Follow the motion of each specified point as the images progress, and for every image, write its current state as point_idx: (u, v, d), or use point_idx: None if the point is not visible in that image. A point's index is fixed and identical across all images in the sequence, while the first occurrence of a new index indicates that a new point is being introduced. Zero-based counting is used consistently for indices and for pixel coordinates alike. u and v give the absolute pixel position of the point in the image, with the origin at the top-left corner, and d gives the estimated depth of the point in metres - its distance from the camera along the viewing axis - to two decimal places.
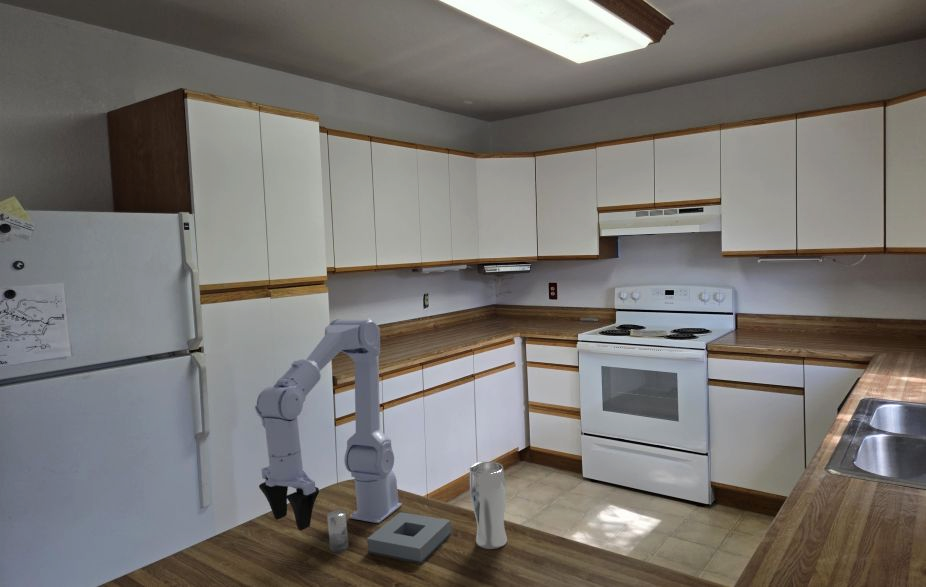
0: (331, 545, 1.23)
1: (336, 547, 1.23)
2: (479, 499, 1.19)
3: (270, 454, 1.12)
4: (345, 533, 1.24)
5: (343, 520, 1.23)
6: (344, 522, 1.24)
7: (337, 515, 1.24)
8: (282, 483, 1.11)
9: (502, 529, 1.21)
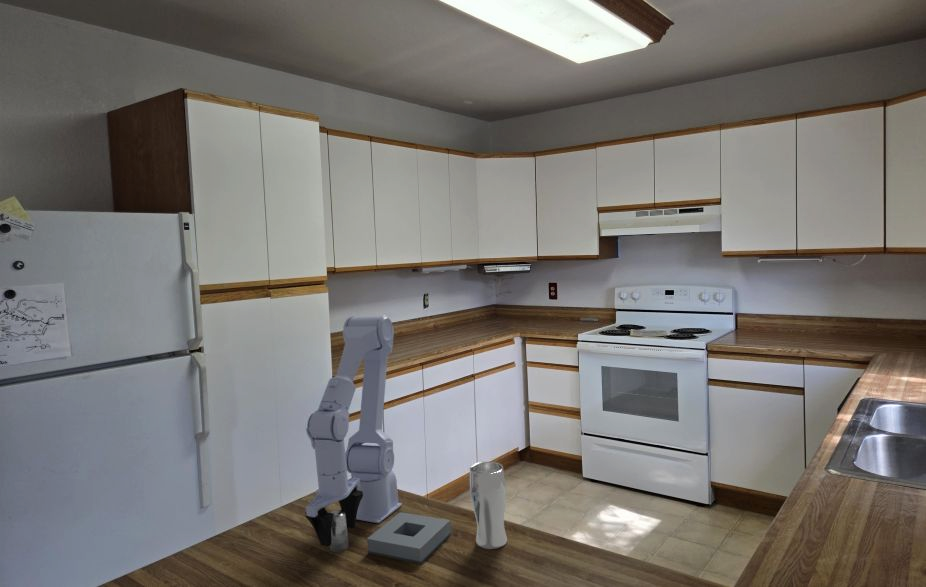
0: (331, 545, 1.23)
1: (336, 547, 1.23)
2: (479, 499, 1.19)
3: (320, 473, 1.21)
4: (345, 533, 1.24)
5: (343, 520, 1.23)
6: (344, 522, 1.24)
7: (336, 515, 1.24)
8: None
9: (502, 529, 1.21)
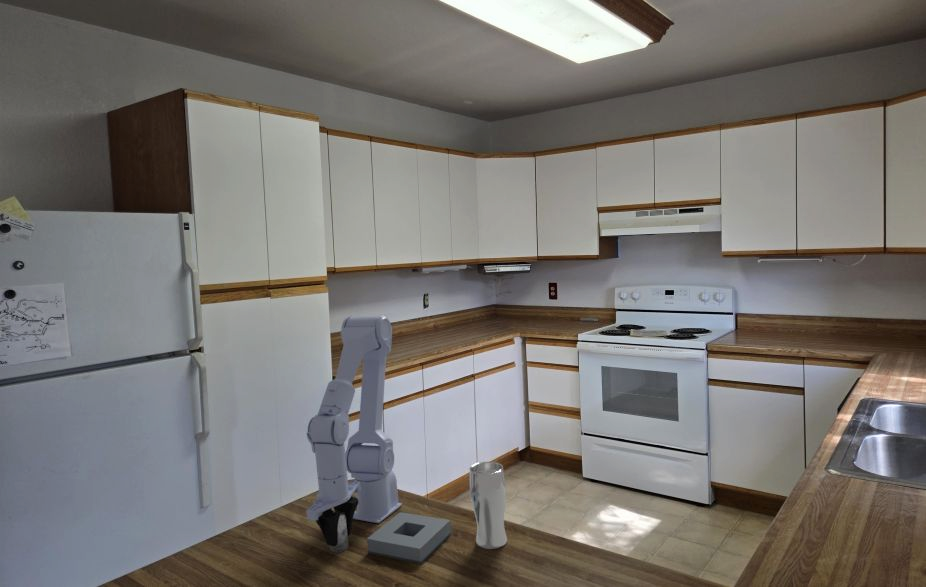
0: None
1: (336, 547, 1.23)
2: (479, 499, 1.19)
3: (321, 477, 1.21)
4: (345, 533, 1.24)
5: (343, 520, 1.23)
6: (344, 522, 1.24)
7: None
8: None
9: (502, 529, 1.21)
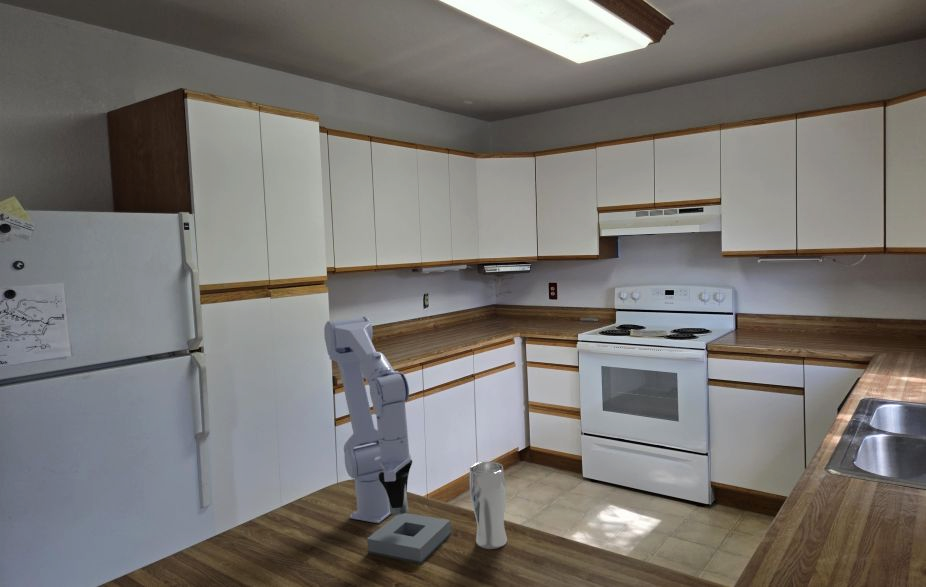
0: (395, 509, 1.22)
1: (401, 509, 1.22)
2: (479, 499, 1.19)
3: (394, 438, 1.19)
4: (406, 494, 1.23)
5: None
6: None
7: None
8: (380, 463, 1.20)
9: (502, 529, 1.21)
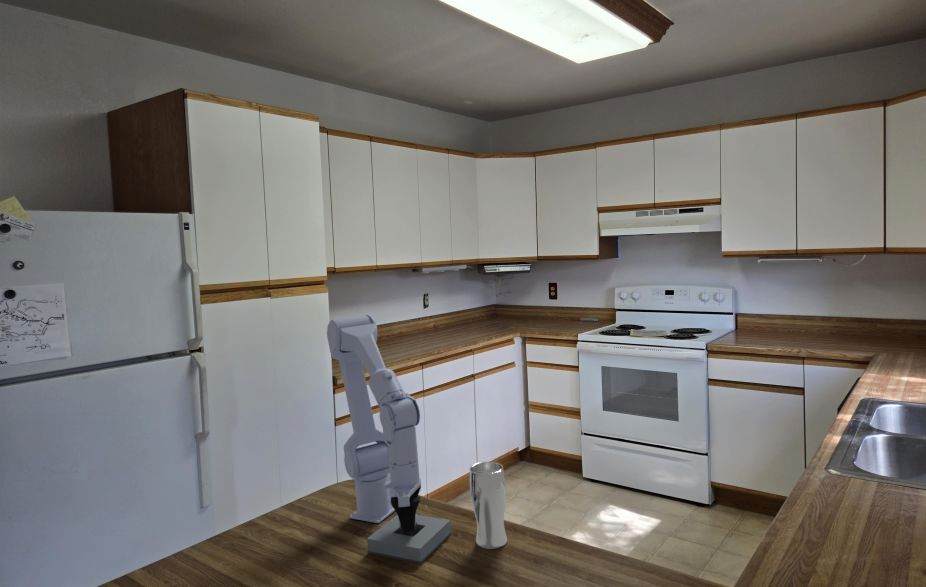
0: (406, 533, 1.22)
1: (412, 533, 1.22)
2: (479, 499, 1.19)
3: (406, 462, 1.20)
4: (416, 517, 1.24)
5: None
6: None
7: None
8: (392, 488, 1.21)
9: (502, 529, 1.21)
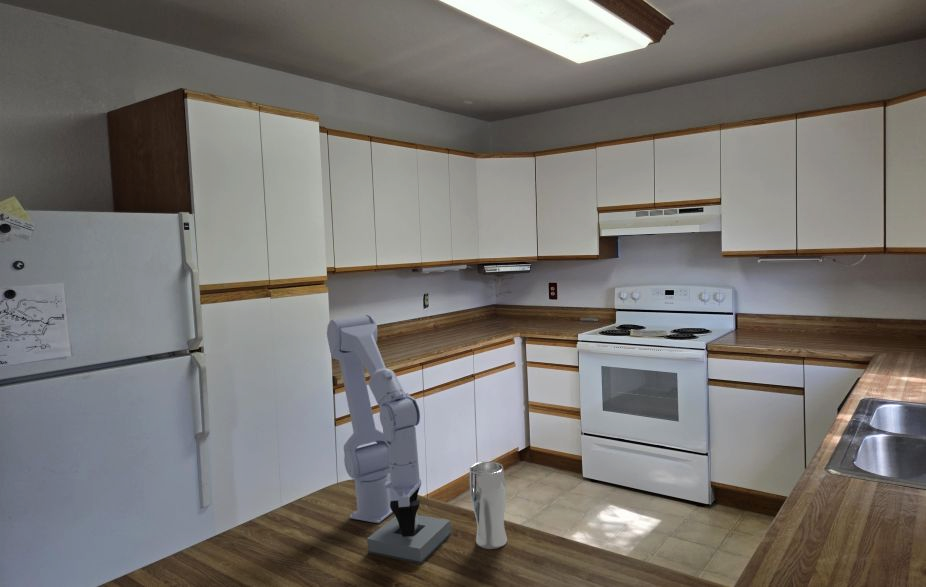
0: None
1: None
2: (479, 499, 1.19)
3: (406, 462, 1.20)
4: None
5: None
6: None
7: None
8: (392, 488, 1.21)
9: (502, 529, 1.21)
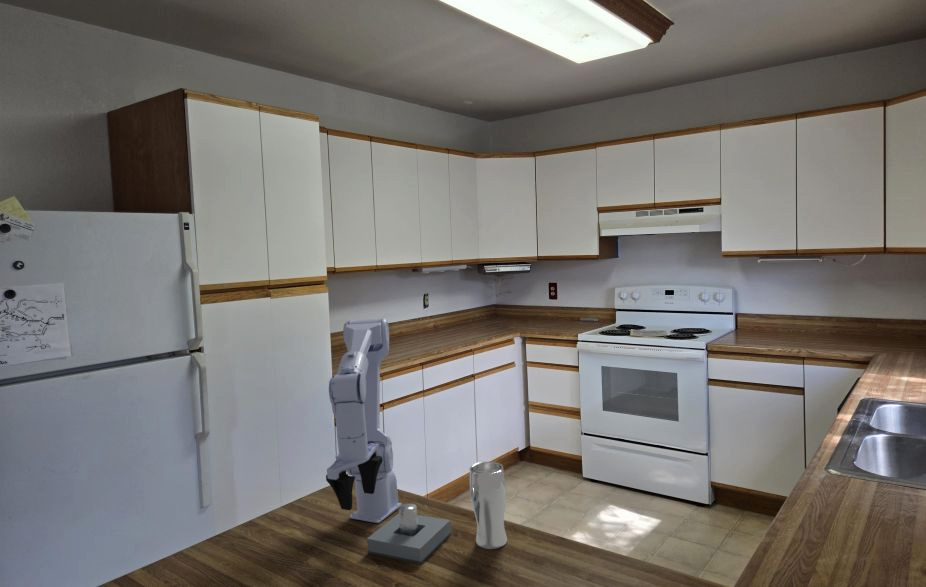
0: None
1: None
2: (479, 499, 1.19)
3: (344, 437, 1.20)
4: None
5: (416, 511, 1.23)
6: None
7: (409, 507, 1.23)
8: (337, 460, 1.22)
9: (502, 529, 1.21)
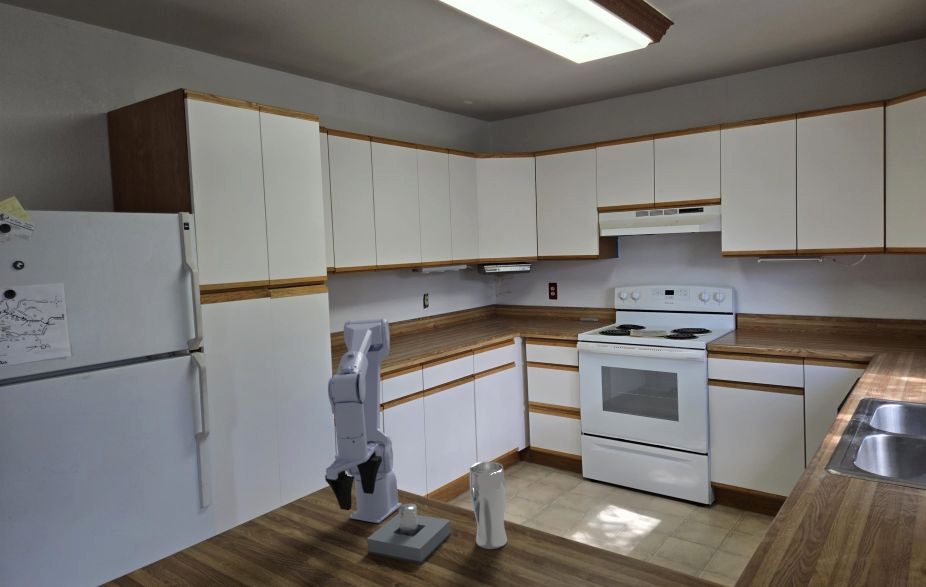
0: None
1: None
2: (479, 499, 1.19)
3: (344, 437, 1.20)
4: (417, 525, 1.24)
5: (416, 511, 1.24)
6: None
7: (409, 507, 1.23)
8: (336, 460, 1.22)
9: (502, 529, 1.21)
